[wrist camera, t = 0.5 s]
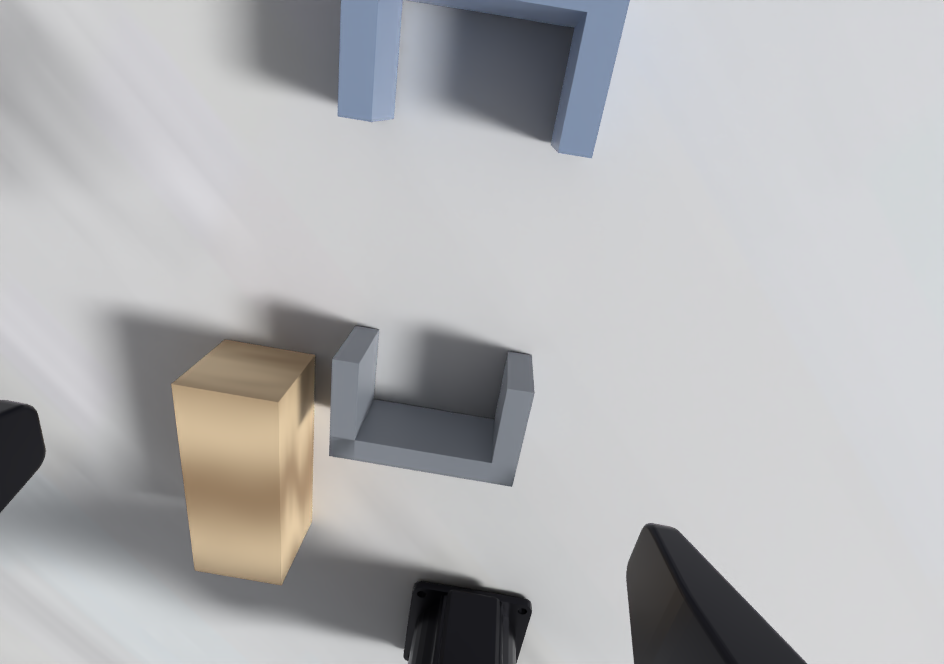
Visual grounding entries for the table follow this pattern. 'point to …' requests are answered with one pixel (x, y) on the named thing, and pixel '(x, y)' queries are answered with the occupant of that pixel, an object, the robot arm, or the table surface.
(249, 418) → the slat
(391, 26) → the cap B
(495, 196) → the table surface
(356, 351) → the grey u channel
